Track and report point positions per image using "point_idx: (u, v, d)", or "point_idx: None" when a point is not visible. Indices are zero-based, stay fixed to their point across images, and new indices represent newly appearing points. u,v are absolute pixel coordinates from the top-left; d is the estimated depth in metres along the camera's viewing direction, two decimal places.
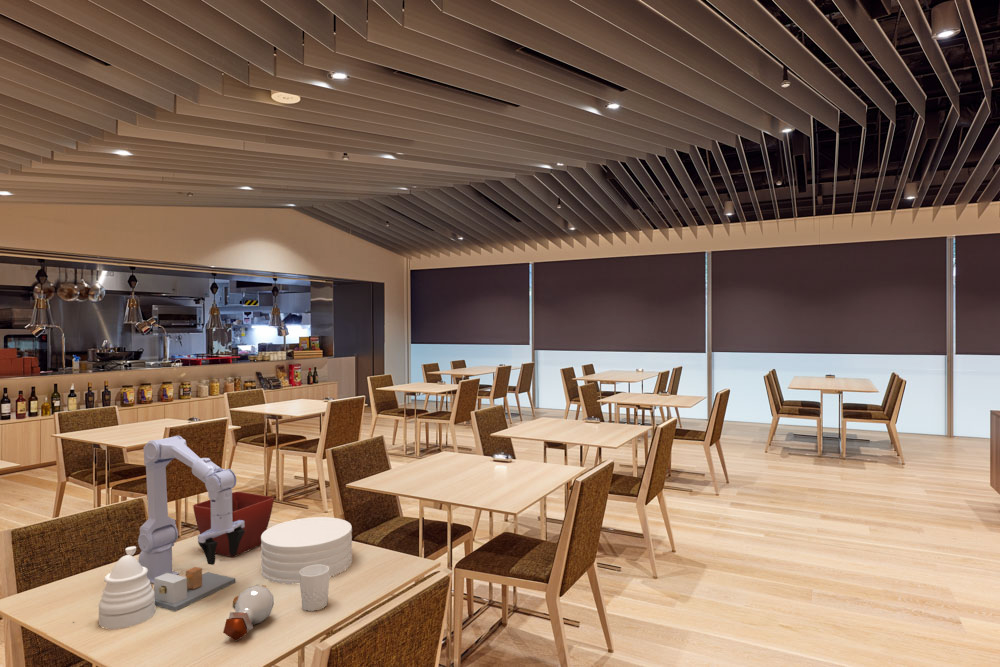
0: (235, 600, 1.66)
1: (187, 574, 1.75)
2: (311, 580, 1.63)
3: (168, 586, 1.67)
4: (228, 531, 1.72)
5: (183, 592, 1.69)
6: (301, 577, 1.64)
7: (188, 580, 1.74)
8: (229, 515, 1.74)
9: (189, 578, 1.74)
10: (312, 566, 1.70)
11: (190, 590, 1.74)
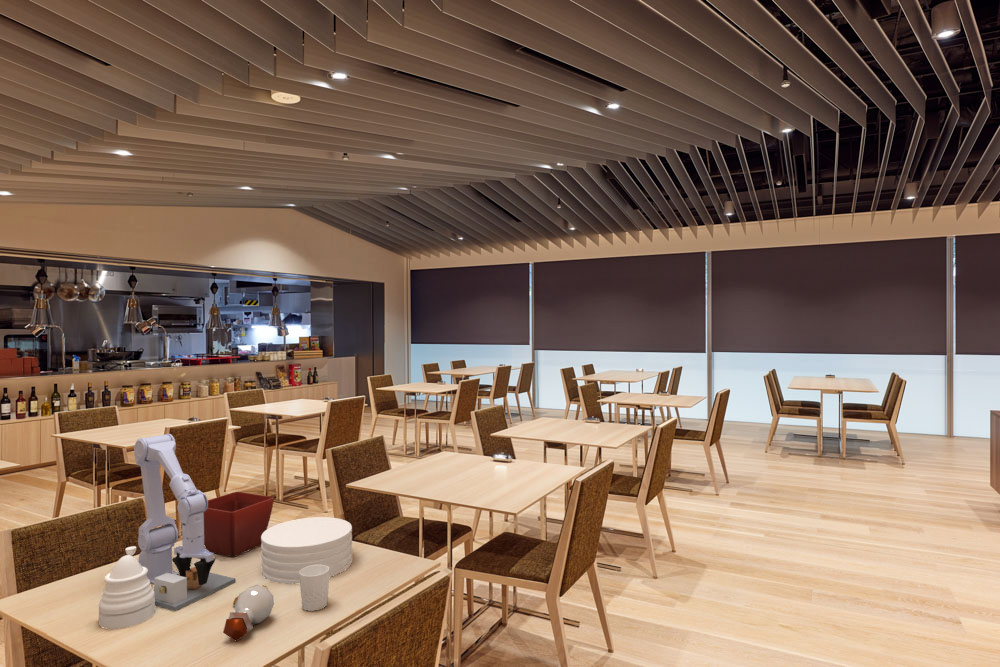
0: (236, 600, 1.66)
1: (187, 574, 1.75)
2: (311, 580, 1.63)
3: (168, 586, 1.67)
4: None
5: (183, 592, 1.69)
6: (301, 577, 1.64)
7: (188, 580, 1.74)
8: (185, 541, 1.74)
9: (189, 578, 1.74)
10: (312, 566, 1.70)
11: (190, 590, 1.74)
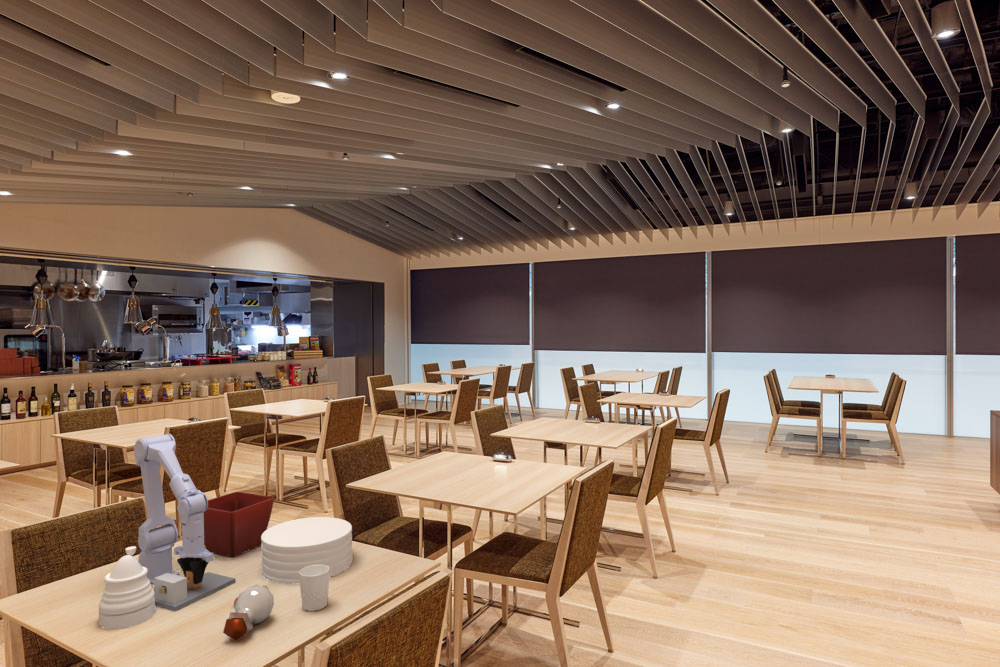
0: (236, 601, 1.66)
1: (187, 574, 1.75)
2: (311, 580, 1.63)
3: (168, 586, 1.67)
4: None
5: (183, 592, 1.69)
6: (301, 577, 1.64)
7: (188, 580, 1.74)
8: (185, 541, 1.74)
9: (189, 578, 1.74)
10: (312, 566, 1.70)
11: (190, 590, 1.74)
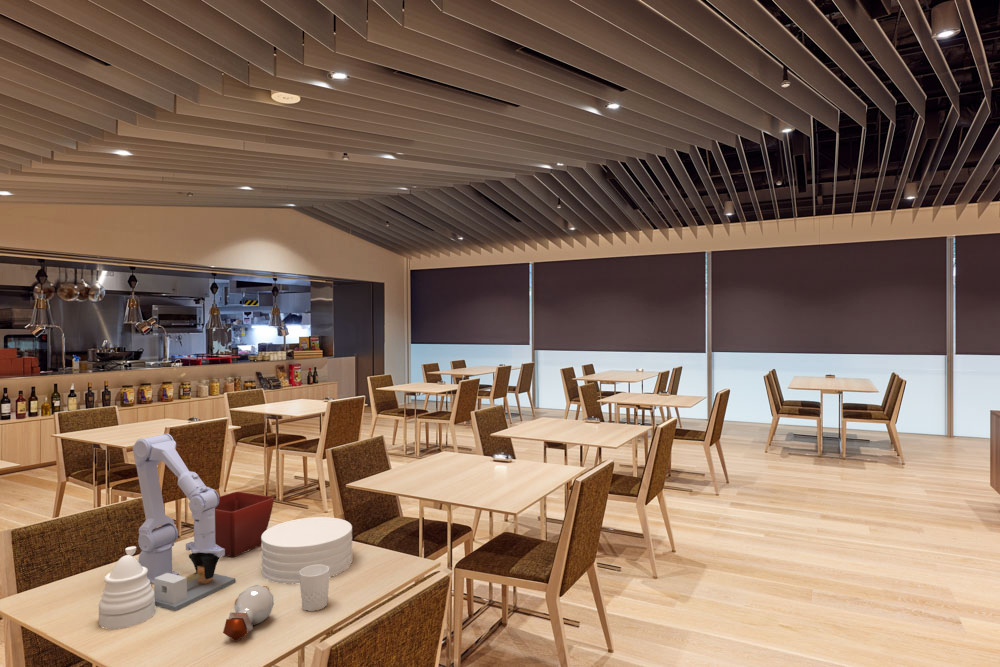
0: None
1: (198, 569, 1.79)
2: (311, 580, 1.63)
3: (168, 586, 1.67)
4: None
5: (183, 592, 1.69)
6: (301, 577, 1.64)
7: (200, 575, 1.77)
8: (197, 536, 1.77)
9: (200, 573, 1.78)
10: (312, 566, 1.70)
11: (190, 590, 1.74)
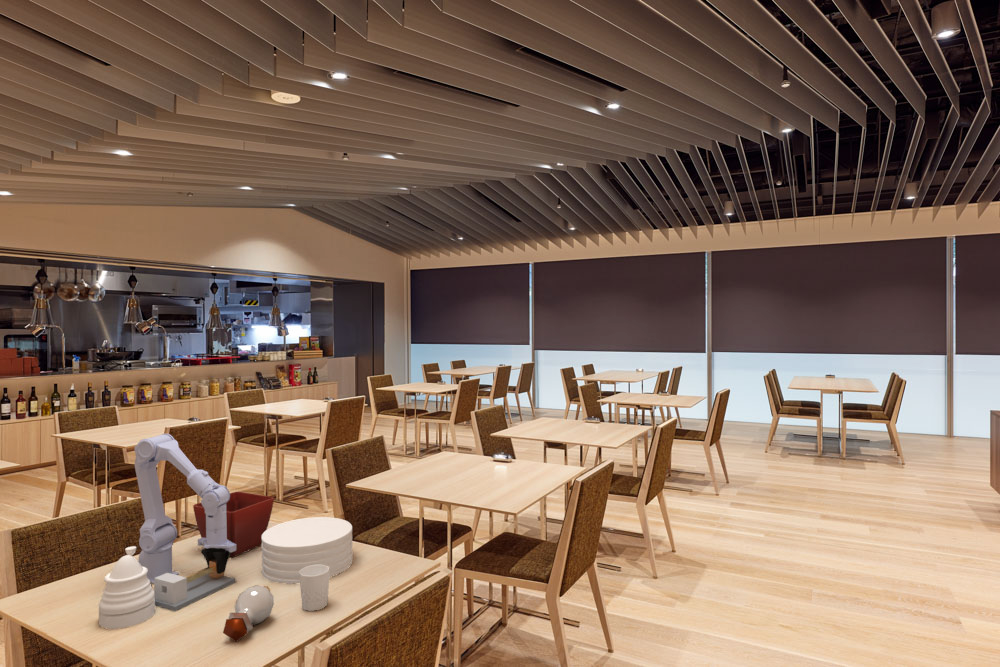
0: None
1: (210, 564, 1.83)
2: (311, 580, 1.63)
3: (168, 586, 1.67)
4: None
5: (183, 592, 1.69)
6: (301, 577, 1.64)
7: (211, 570, 1.81)
8: (209, 532, 1.81)
9: (212, 568, 1.81)
10: (312, 566, 1.70)
11: (190, 590, 1.74)
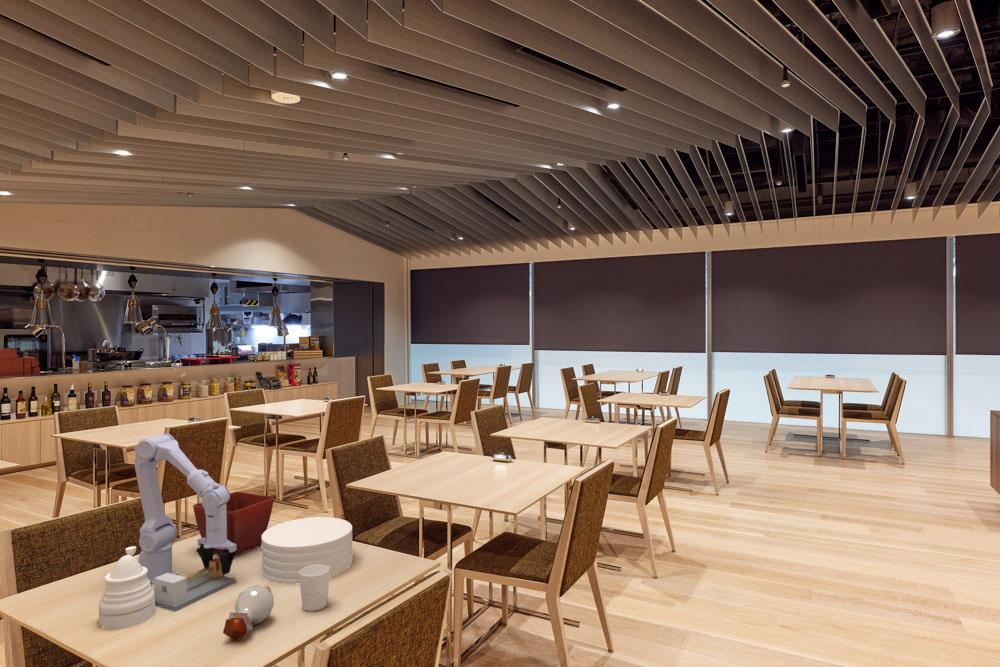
0: None
1: (210, 564, 1.83)
2: (311, 580, 1.63)
3: (168, 586, 1.67)
4: None
5: (183, 592, 1.69)
6: (301, 577, 1.64)
7: (211, 570, 1.81)
8: (209, 532, 1.81)
9: (212, 568, 1.81)
10: (312, 566, 1.70)
11: (190, 590, 1.74)
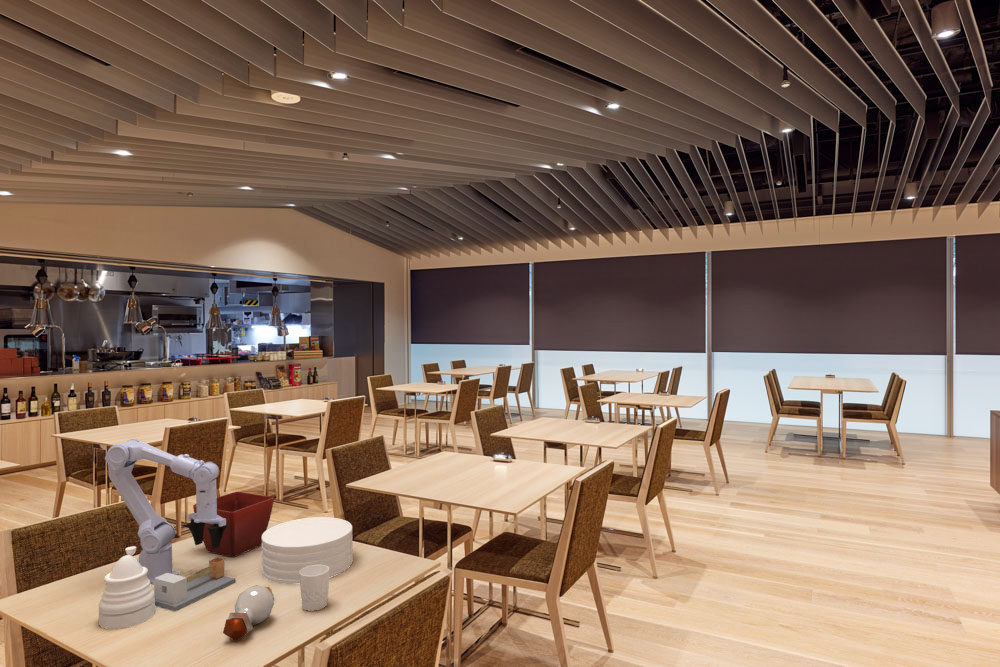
0: None
1: (210, 564, 1.83)
2: (311, 580, 1.63)
3: (168, 586, 1.67)
4: None
5: (183, 592, 1.69)
6: (301, 577, 1.64)
7: (211, 570, 1.81)
8: (199, 506, 1.85)
9: (212, 568, 1.81)
10: (312, 566, 1.70)
11: (190, 590, 1.74)
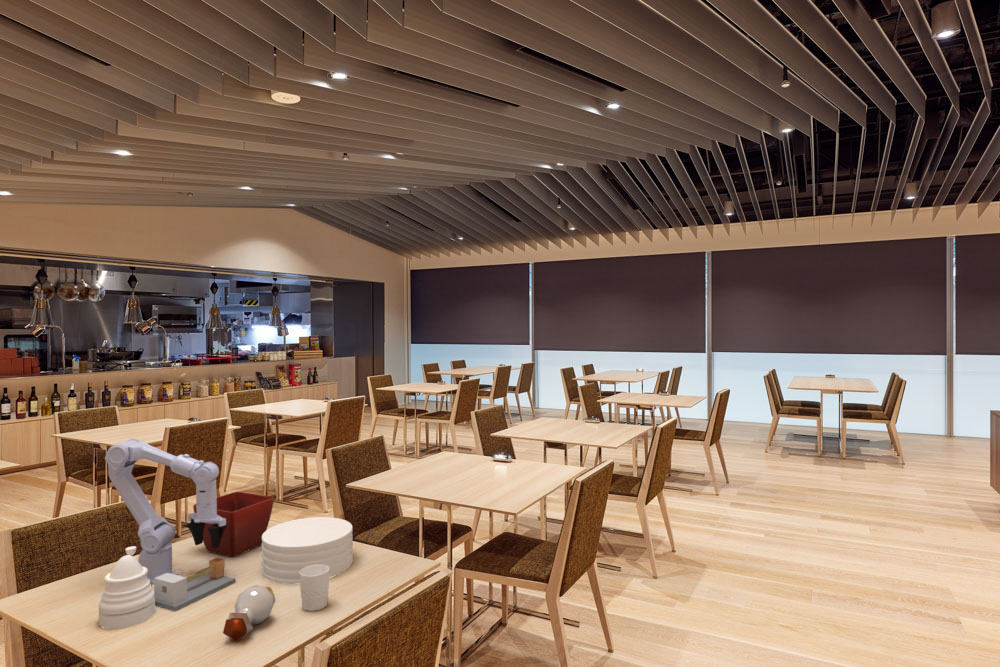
0: None
1: (210, 564, 1.83)
2: (311, 580, 1.63)
3: (168, 586, 1.67)
4: None
5: (183, 592, 1.69)
6: (301, 577, 1.64)
7: (211, 570, 1.81)
8: (199, 506, 1.85)
9: (212, 568, 1.81)
10: (312, 566, 1.70)
11: (190, 590, 1.74)
